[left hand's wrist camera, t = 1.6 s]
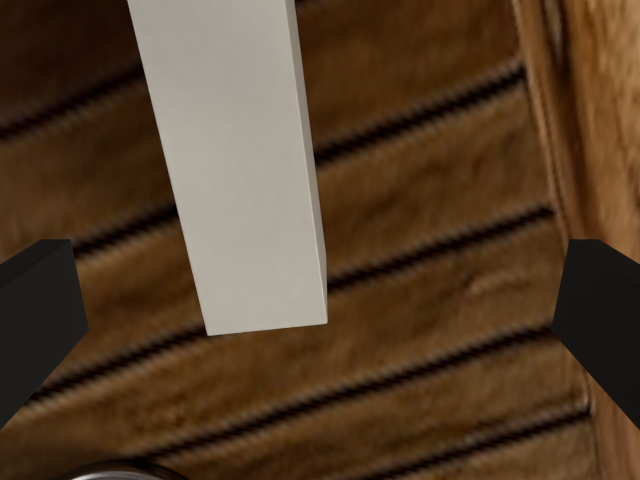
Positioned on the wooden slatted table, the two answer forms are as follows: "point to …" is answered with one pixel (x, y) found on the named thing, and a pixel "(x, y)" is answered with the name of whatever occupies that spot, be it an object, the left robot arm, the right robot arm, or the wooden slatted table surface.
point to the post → (238, 156)
